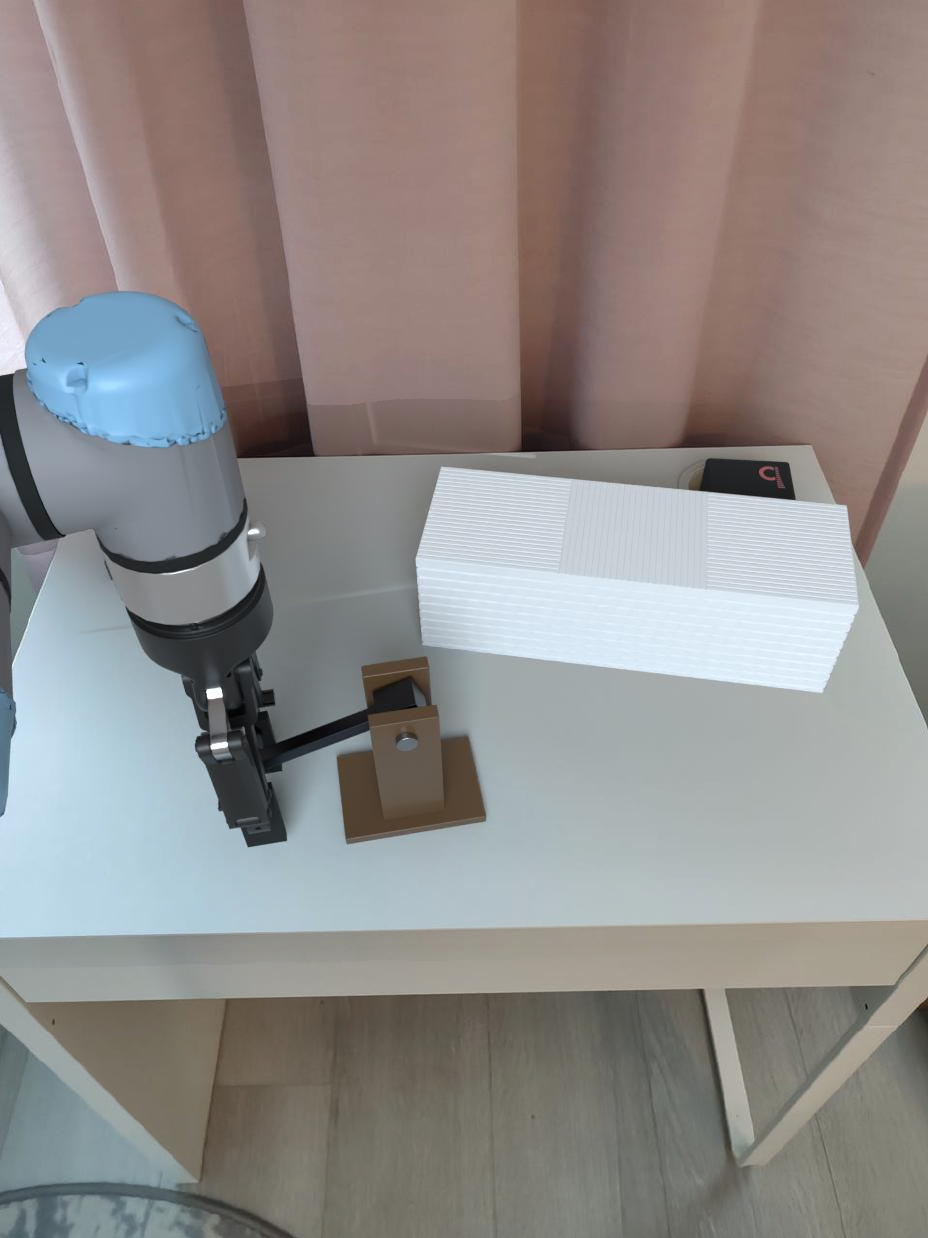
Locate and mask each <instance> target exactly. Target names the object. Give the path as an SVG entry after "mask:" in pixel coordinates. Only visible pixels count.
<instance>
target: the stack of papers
mask: <svg viewBox="0 0 928 1238" xmlns="http://www.w3.org/2000/svg"><path fill="white" fill-rule="evenodd" d="M429 505H430V506H429V509H428V512H427V516H426V520H425V523H424V528H423V531H422V534H421V538H420V541H419V545H418V548H417V553H416V556H415V567H416V569H415V570H416V576H417V577H416V579H417V580H416V581H417V593H418V609H419V618H420V619H419V622H420V633H421V645H422V646H425V647H435V648H443V649H451V650H459V651H460V650H461V651H468V652H476V653H486V654H492V655H499V656H500V655H503V656H509V657H518V658H527V659H535V660H543V661H549V662H550V661H551V662H560V663H567V664H568V663H569V664H578V665H585V666H592V667H593V666H594V667H602V668H610V669H618V670H627V671H634V672H643V673H644V672H645V673H651V674H661V675H669V676H676V677H677V676H678V677H686V678H693V679H695V678H696V679H702V680H710V681H711V680H712V681H717V682H718V681H719V682H727V683H735V684H744V685H753V686H761V687H769V688H779V689H785V690H786V689H787V690H794V691H802V692H811V693H819V694H823V693H824V691H825V689H826V687H827V684H828V681H829V679H830V677H831V673H832V672H833V670H834V666H835V665H836V663H837V661H838V658H839V655H840V653H841V650H842V648H843V646H844V644H845V641H846V639H847V637H848V633H849V632H850V630H851V628H852V624H853V623H854V621H855V618H856V615H857V613H858V611H859V609H860V602H859V593H858V586H857V577H856V570H855V568H856V567H855V562H854V552H853V545H852V536H851V528H850V527H851V526H850V520H849V519H850V518H849V513H848V512H849V511H848V505H847V504H839V503H837V504H836V503H827V502H817V501H807V500H797V499H796V500H787V499H776V498H766V497H756V496H745V495H735V494H724V493H714V492H704V491H699V490H691V489H682V488H681V489H680V488H672V487H662V486H661V487H660V486H651V485H640V484H631V483H629V484H628V483H619V482H610V481H609V482H608V481H600V480H599V481H598V480H589V479H588V480H587V479H580V478H579V479H577V478H569V477H568V478H567V477H556V476H548V475H547V476H546V475H535V474H526V473H515V472H507V471H506V472H504V471H494V470H484V469H476V468H475V469H473V468H462V467H452V466H444V465H443V466H440V470H439V472H438V476H437V480H436V484H435V488H434V491H433V495H432V498H431V502H430V504H429Z"/></svg>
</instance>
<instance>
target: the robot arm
mask: <svg viewBox="0 0 928 1238" xmlns="http://www.w3.org/2000/svg"><path fill="white" fill-rule="evenodd" d="M23 356H24V360H25V361H24V362H25V365H26V367H25V368H24V367H23V368H19V369H16V370H14V372H13V373H6V374H1V375H0V818H1V817H3V816H4V815H5V812H6V807H7V804H8V803H7V801H8V796H9V780H10V763H11V747H12V745H11V744H12V739H13V737H14V736H15V733H16V730H17V726H18V725H17V724H18V722H17V716H16V714H17V703H16V701H15V700H14V684H13V683H14V682H13V655H12V631H11V629H12V628H11V612H12V598H13V597H12V592H13V591H12V549H16V548H20V547H21V548H22V547H24V546H29V545H34V544H38V543H42V542H48V541H53V540H58V539H63V538H66V537H67V535H72V534H76V533H80V532H85V531H89V530H93V532H94V534H95V537H96V539H97V542H98V545H99V548H100V550H101V553H102V556H103V558H104V562H105V561H106V564H107V566H108V569H109V571H110V574H111V576H112V579H113V580H112V582H113V584H114V587H115V589H116V592H117V594H118V597H119V600H120V601H121V602H122V603H123V604H124V608H125V611H126V613H127V615H128V618H129V621H130V623H131V625H132V628H133V630H134V633H135V636H136V637H137V640H138V643H139V645H140V648H142V650H143V651H144V654H145V655H146V656H147V657H148V658H149V659H150V660H151V661H152V662H153V663H155V664H156V665H157V666H159V667H161V668H163V669H165V670H167V671H170V672H173V673H175V674H178V675H180V677H181V683H182V686H183V689H184V694H185V695H186V696H187V697H188V698H190V699H191V702H192V705H193V708H194V712H195V716H196V721H197V724H198V727H199V728H200V729H201V730H202V732H200V733H199V735H197V736H196V737H195V740H194V741H195V742H194V751H195V752H196V754H197V756H198V758H199V759H200V761H201V763H203V764H204V766H205V768H206V771H207V773H208V776H209V779H210V781H211V785H212V787H213V789H214V791H215V795H216V797H217V801H218V802H217V811H218V812H222V813H223V816H224V819H225V823H226V824H227V827H228V829H229V830H235V829H240V830H241V834H242V836H243V838H244V841H245V844H246V846H247V848H253V847H254V848H255V847H260V846H265V845H272V844H277V843H284V842H288V834H287V833H288V832H287V831H288V830H287V828H286V825H285V821H284V818H283V816H282V812H281V809H280V806H279V802H278V798H277V795H276V791H275V788H274V786H273V783H272V781H268V780H267V776H266V775H267V774H273V773H278V772H283V763H282V764H279V765H276V766H274V767H271V768H268V769H266V770H264V767H263V762H262V758H261V754H260V750H259V745H258V741H257V737H256V733H255V728H254V727H257V728H259V729H260V730H261V731H262V740H263V748H265V747H267V746H270V745H273V744H275V743H277V740H276V736H275V733H274V730H273V726H272V722H271V719H270V715H269V712H268V710H262V711H261V709H262V708H263V709H264V708H270V707H275V706H276V695H275V690H274V688H271V689H262V686H261V684H260V682H262V677H263V676H264V672H263V668H262V667H261V666H260V661H259V659H258V655H257V652H256V651H258V649H259V648H260V647H261V646H262V645H263V644H264V642H265V640H267V637H268V636H269V634H270V631H271V628H272V626H273V621H274V606H273V601H272V597H271V593H270V592H271V591H270V589H269V585H268V580H267V575H266V572H265V569H264V566H263V564H262V562H261V555H260V553H259V548H258V543H257V541H259V540H260V541H261V539H264V538H265V536H266V534H267V528H266V525H265V523H264V522H263V521H262V520H253V521H251V520H250V519H251V517H250V511H249V505H248V501H247V497H246V492H245V488H244V484H243V483H244V482H243V479H242V475H241V470H240V466H239V461H238V457H237V453H236V448H235V444H234V443H235V442H234V439H233V435H232V429H231V425H230V421H229V415H228V412H227V407H226V404H225V398H224V396H223V392H222V388H221V387H222V386H221V385H220V383H219V380H218V377H217V374H216V370H215V367H214V364H213V361H212V358H211V357H212V356H211V354H210V351H209V347H208V343H207V341H206V338H205V335H204V333H203V332H202V330H201V328H200V326H199V325H198V323H197V321H196V319H194V317H192V315H191V314H190V313H189V312H188V311H187V310H186V309H184V308H183V307H181V306H180V305H179V304H177V303H176V302H174V301H172V300H170V299H168V298H165V297H162V296H160V295H157V294H152V293H149V292H141V291H131V290H118V291H117V290H114V291H113V290H112V291H105V292H100V293H95V294H94V293H93V294H90V295H85V296H83V297H81V298H80V300H79V303H76V304H74V305H72V306H62V307H57V308H55V309H53V310H51V311H50V312H49V313H47V314H46V315H44V317H42V318H40V320H39V321H38V322H37V323H36V324H35V325H34V327H33V328H32V329H31V331H30V332H29V334H28V336H27V339H26V342H25V346H24V355H23ZM203 731H204V732H203Z"/></svg>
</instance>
